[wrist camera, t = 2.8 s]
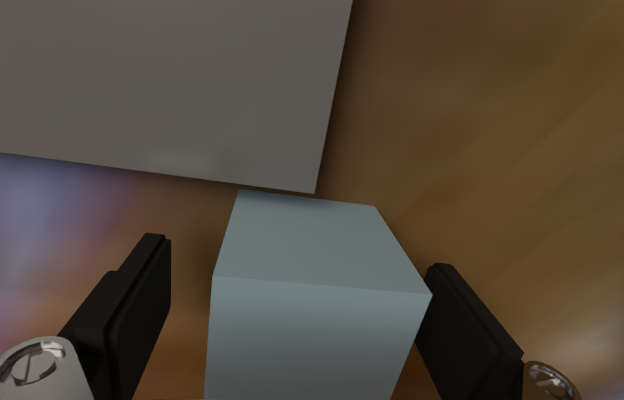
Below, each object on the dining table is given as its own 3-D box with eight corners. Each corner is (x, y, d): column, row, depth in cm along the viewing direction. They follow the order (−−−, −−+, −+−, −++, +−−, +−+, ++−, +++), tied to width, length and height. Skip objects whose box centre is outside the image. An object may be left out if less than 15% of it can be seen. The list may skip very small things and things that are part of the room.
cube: (345, 308, 15) (377, 429, 10) (228, 299, 14) (201, 427, 9) (374, 205, 13) (432, 294, 8) (239, 187, 12) (212, 276, 7)
